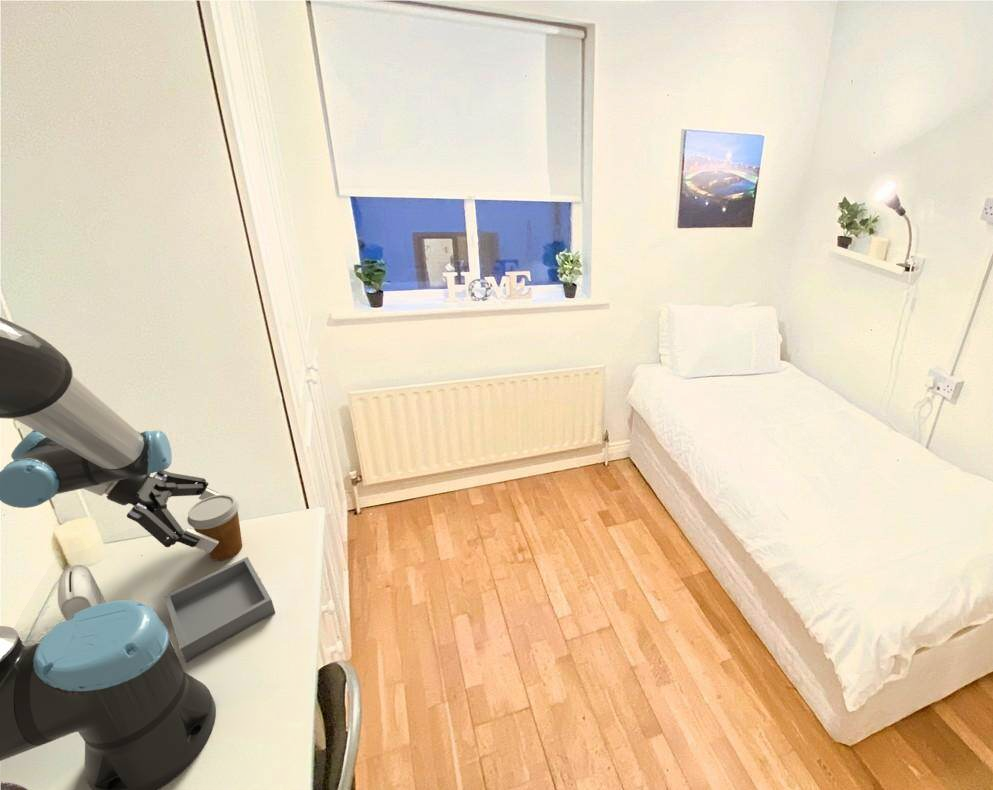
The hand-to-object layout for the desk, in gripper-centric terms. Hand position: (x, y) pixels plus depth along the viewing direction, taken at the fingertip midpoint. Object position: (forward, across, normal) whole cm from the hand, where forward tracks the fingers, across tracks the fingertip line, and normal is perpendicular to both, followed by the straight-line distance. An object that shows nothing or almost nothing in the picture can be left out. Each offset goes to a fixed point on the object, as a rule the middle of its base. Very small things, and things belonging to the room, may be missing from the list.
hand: (223, 525), depth 99 cm
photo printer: (-9, +15, -18) cm, 25 cm away
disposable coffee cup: (+4, +1, -5) cm, 7 cm away
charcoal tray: (+6, +18, -3) cm, 19 cm away
